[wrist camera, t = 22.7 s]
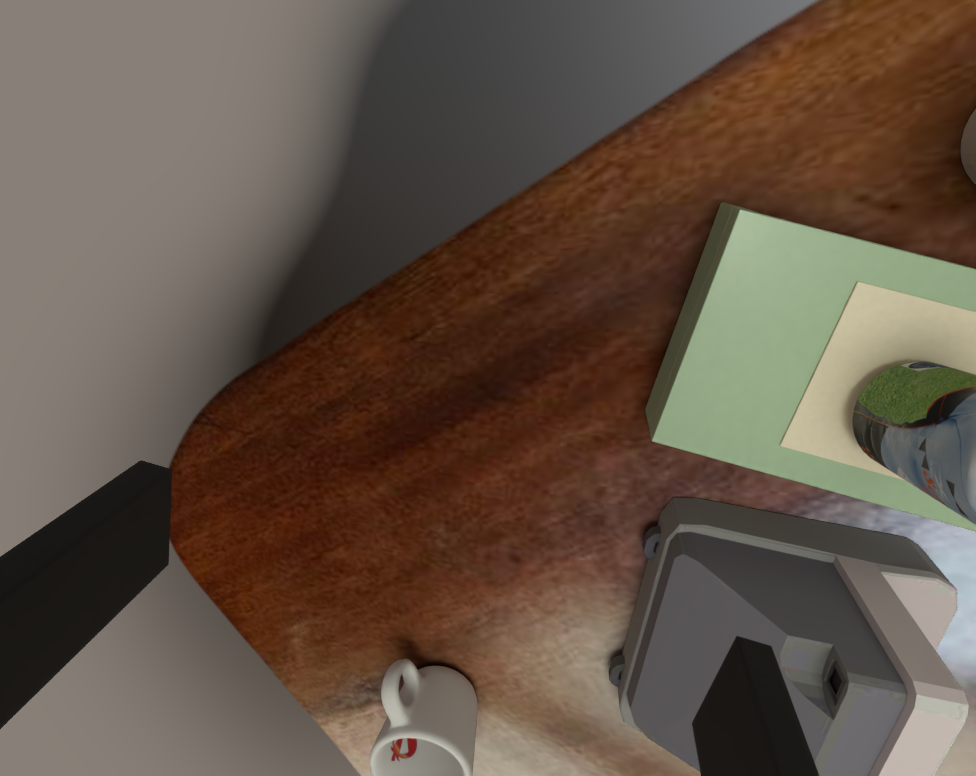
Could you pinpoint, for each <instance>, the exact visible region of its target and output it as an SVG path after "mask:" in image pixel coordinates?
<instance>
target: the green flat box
mask: <svg viewBox="0 0 976 776" xmlns="http://www.w3.org/2000/svg"><path fill="white" fill-rule="evenodd" d="M912 361H928V362H933V363H937V364H941V365H944V366H948V367H951V368H954V369H958V370H961V371H965V372H968V373H972V374H975V375H976V268H973V267H969V266H965V265H961V264H957V263H953V262H949V261H945V260H941V259H937V258H933V257H930V256H926V255H922V254H918V253H914V252H910V251H906V250H902V249H898V248H894V247H890V246H886V245H883V244H879V243H875V242H871V241H867V240H863V239H859V238H855V237H851V236H847V235H843V234H839V233H835V232H832V231H828V230H824V229H820V228H816V227H812V226H808V225H804V224H800V223H796V222H792V221H788V220H785V219H781V218H777V217H773V216H769V215H765V214H761V213H758V212H755V211H753V210H750V209H747V208H743V207H739V206H735V205H731V204H728V203H724V202H721V204H720V207H719V209H718V212H717V215H716V217H715V220H714V223H713V226H712V228H711V231H710V234H709V236H708V239H707V242H706V245H705V247H704V250H703V253H702V256H701V258H700V261H699V264H698V266H697V269H696V272H695V275H694V277H693V280H692V283H691V285H690V288H689V291H688V294H687V296H686V299H685V302H684V305H683V307H682V310H681V313H680V315H679V318H678V321H677V324H676V326H675V329H674V332H673V334H672V337H671V340H670V343H669V345H668V348H667V351H666V354H665V356H664V359H663V362H662V364H661V367H660V370H659V373H658V375H657V378H656V381H655V383H654V386H653V389H652V392H651V394H650V397H649V400H648V402H647V405H646V408H645V412H646V416H647V421H648V425H649V430H650V435H651V439H652V441H653V442H657V443H660V444H664V445H667V446H671V447H674V448H678V449H682V450H685V451H689V452H692V453H696V454H700V455H703V456H707V457H710V458H714V459H717V460H721V461H725V462H728V463H732V464H735V465H739V466H743V467H746V468H750V469H753V470H757V471H761V472H764V473H768V474H771V475H775V476H778V477H782V478H786V479H789V480H793V481H796V482H800V483H804V484H807V485H811V486H814V487H818V488H822V489H825V490H829V491H832V492H836V493H839V494H843V495H847V496H850V497H854V498H857V499H861V500H865V501H868V502H872V503H875V504H879V505H883V506H886V507H890V508H893V509H897V510H900V511H904V512H908V513H911V514H915V515H918V516H922V517H926V518H929V519H933V520H936V521H940V522H944V523H947V524H951V525H954V526H958V527H961V528H965V529H969V530H972V531H976V525H975V524H973V523H972V522H970V521H969V520H967V519H965V518H964V517H962V516H961V515H959V514H958V513H956V512H954V511H953V510H951V509H950V508H948V507H946V506H945V505H943V504H942V503H940V502H939V501H937V500H935V499H934V498H932V497H931V496H929V495H928V494H926V493H924V492H923V491H921V490H920V489H918V488H917V487H915V486H913V485H912V484H910V483H909V482H907V481H906V480H904V479H902V478H901V477H899V476H898V475H896V474H895V473H893V472H891V471H890V470H888V469H887V468H885V467H884V466H882V465H880V464H879V463H877V462H876V461H874V460H873V459H871V458H870V457H869V456H868V455H867V454H865V453H864V452H863V450H862V449H861V447H860V446H859V445H858V443H857V440H856V438H855V436H854V431H853V424H852V417H853V411H854V407H855V404H856V401H857V399H858V397H859V395H860V394H861V392H862V390H863V389H864V388H865V387H866V385H867V384H868V383H869V382H870V381H871V380H872V379H873V378H874V377H875V376H877V375H878V374H880V373H881V372H883V371H884V370H886V369H888V368H890V367H892V366H895V365H898V364H901V363H905V362H912Z"/></svg>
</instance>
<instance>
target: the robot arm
mask: <svg viewBox="0 0 976 776" xmlns="http://www.w3.org/2000/svg"><path fill="white" fill-rule="evenodd" d="M171 481H172V469H169V468H165V467H162V466H158V465H155V464H152V463H148V462H145V461H139V462H138V463H136V464H135V465H133V466H132V467H130V468H129V469H128V470H126V471H125V472H123V473H122V474H120V475H119V476H117V477H116V478H114V479H113V480H112V481H110V482H109V483H107V484H106V485H104V486H103V487H101V488H100V489H98V490H97V491H95V492H94V493H92V494H91V495H90V496H88V497H87V498H85V499H84V500H82V501H81V502H79V503H78V504H76V505H75V506H74V507H72V508H71V509H69V510H68V511H66V512H65V513H63V514H62V515H60V516H59V517H58V518H56V519H55V520H53V521H52V522H50V523H49V524H48V525H46V526H44V527H43V528H42V529H40V530H39V531H37V532H36V533H34V534H33V535H31V536H30V537H28V538H27V539H26V540H24V541H23V542H21V543H20V544H18V545H17V546H15V547H14V548H12V549H11V550H10V551H8V552H7V553H5V554H4V555H2V556H1V557H0V729H1V728H2V727H3V726H4V725H5V724H6V723H7V722H8V721H9V720H10V719H11V718H12V717H13V716H14V715H15V714H16V713H17V712H18V711H19V710H20V709H21V708H22V707H23V706H24V705H25V704H26V703H27V702H28V701H29V700H30V699H31V698H32V697H33V696H34V695H35V694H37V693H38V692H39V691H40V689H42V688H43V686H45V685H46V684H47V683H48V682H49V681H50V680H51V679H52V678H53V677H54V676H55V675H56V674H57V673H58V672H59V671H60V670H61V669H62V668H63V667H64V666H65V665H66V664H67V663H68V662H69V661H70V660H71V659H72V658H73V657H74V656H75V655H76V654H77V653H78V652H79V651H80V650H81V649H82V648H83V647H85V646H86V644H88V642H90V641H91V639H92V638H94V637H95V636H96V635H97V633H99V632H100V631H101V630H102V629H103V628H104V627H105V626H106V625H107V624H108V623H109V622H110V621H111V620H112V619H113V618H114V617H115V616H116V615H117V614H118V613H119V612H120V611H121V610H122V609H123V608H124V607H125V606H126V605H127V604H128V603H129V602H130V601H131V600H132V599H134V598H135V597H136V595H137V594H139V593H140V592H141V591H142V590H143V589H144V588H145V587H146V586H147V585H148V584H149V583H150V582H151V581H152V580H153V579H154V578H155V577H156V576H157V575H158V574H159V573H160V572H161V571H162V570H163V569H164V568H165V567H166V566H167V565H168V561H169V535H170V508H171ZM692 728H693V733H694V739H695V744H696V750H697V756H698V761H699V767H700V772H701V776H819V773H818V770H817V768H816V765H815V762H814V760H813V757H812V754H811V752H810V749H809V746H808V743H807V741H806V738H805V735H804V733H803V730H802V727H801V725H800V722H799V719H798V716H797V714H796V711H795V708H794V706H793V703H792V700H791V697H790V695H789V692H788V689H787V687H786V684H785V681H784V679H783V676H782V673H781V670H780V668H779V665H778V662H777V660H776V657H775V654H774V652H773V649H772V646H770V645H767V644H763V643H760V642H756V641H753V640H750V639H746V638H743V637H739V636H736V638H735V640H734V642H733V644H732V646H731V648H730V649H729V651H728V653H727V655H726V657H725V659H724V661H723V663H722V665H721V667H720V669H719V671H718V673H717V675H716V677H715V679H714V681H713V683H712V685H711V687H710V688H709V690H708V692H707V694H706V696H705V698H704V700H703V702H702V704H701V706H700V708H699V710H698V712H697V714H696V716H695V718H694V720H693V722H692Z"/></svg>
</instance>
